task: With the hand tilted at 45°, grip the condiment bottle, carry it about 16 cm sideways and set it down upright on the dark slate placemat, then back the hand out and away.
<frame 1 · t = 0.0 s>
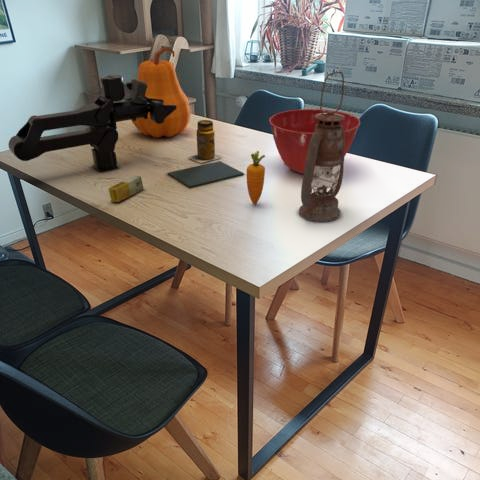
hand: (169, 104, 164), 17 cm above the table, tool horizontal, fingers open, 9 cm apart
placemat: (205, 174, 157), on the table
medication box: (127, 196, 143), on the table
carrot: (254, 205, 138), on the table
lantern: (319, 214, 134), on the table
mixing bowl: (309, 168, 163), on the table
condiment: (204, 158, 170), on the table
decorative pumpkin: (162, 133, 194), on the table
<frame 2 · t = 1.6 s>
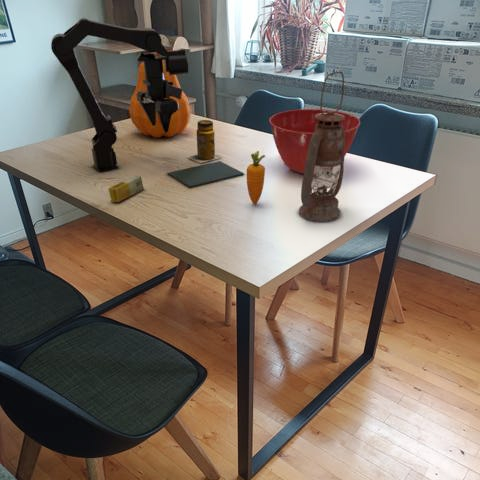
hand: (160, 128, 160), 11 cm above the table, tool pointing down, fingers open, 9 cm apart
nothing on the table moved.
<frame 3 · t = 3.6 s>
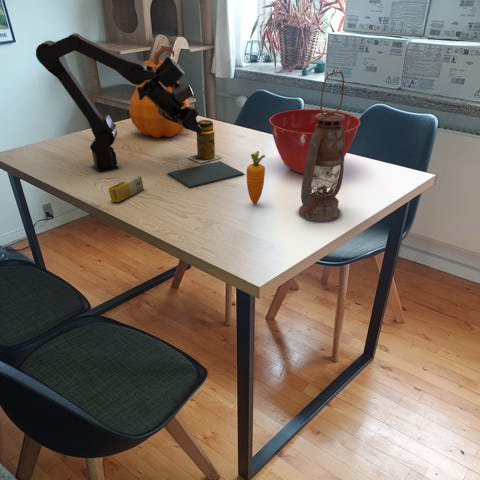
hand: (194, 128, 162), 10 cm above the table, tool tilted 45°, fingers open, 9 cm apart
nothing on the table moved.
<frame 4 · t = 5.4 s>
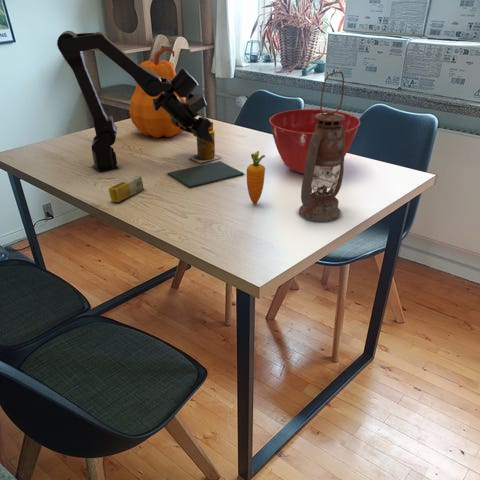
hand: (207, 138, 167), 7 cm above the table, tool tilted 45°, fingers closed on condiment, 6 cm apart
condiment: (204, 158, 170), on the table, touching gripper
everything else where it was.
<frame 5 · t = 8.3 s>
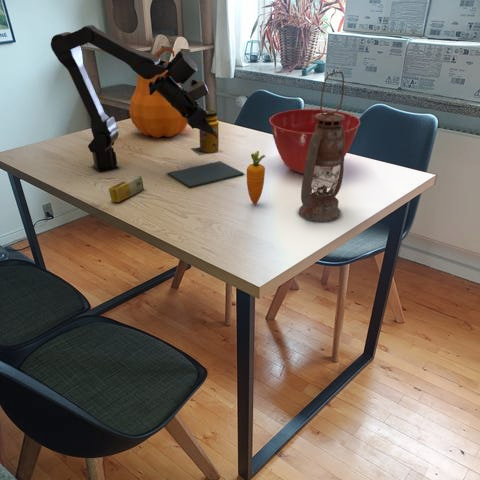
hand: (210, 129, 155), 12 cm above the table, tool tilted 45°, fingers closed on condiment, 6 cm apart
condiment: (206, 151, 159), point 6 cm above the table, touching gripper
everything else where it was.
when the fingers open (7 cm above the table, at t = 11.1 s): condiment stays where it is, resting on placemat.
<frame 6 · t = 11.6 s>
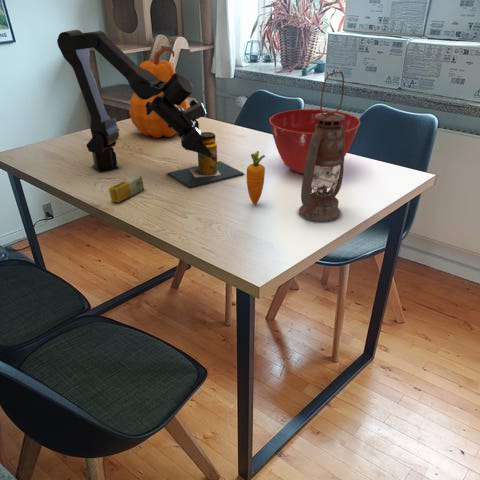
hand: (209, 150, 153), 8 cm above the table, tool tilted 45°, fingers open, 9 cm apart
condiment: (205, 173, 157), resting on placemat
everything else where it was.
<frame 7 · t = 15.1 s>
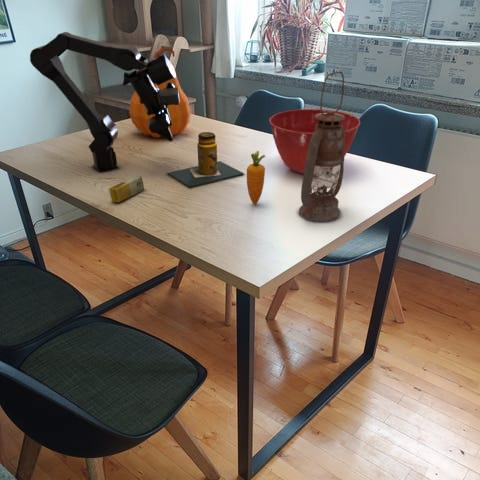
hand: (171, 132, 160), 10 cm above the table, tool tilted 30°, fingers open, 9 cm apart
nothing on the table moved.
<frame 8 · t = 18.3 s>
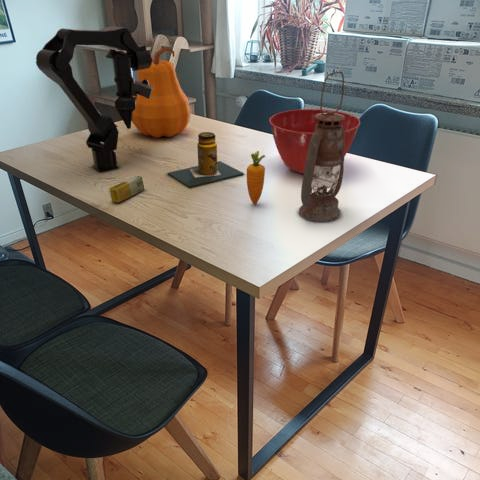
hand: (129, 124, 164), 11 cm above the table, tool pointing down, fingers open, 9 cm apart
nothing on the table moved.
at the end: condiment inside the target area on the placemat (0.1 cm from its centre), point 0.4 cm above the placemat's base; condiment tilted 0°; the gripper is holding nothing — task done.
